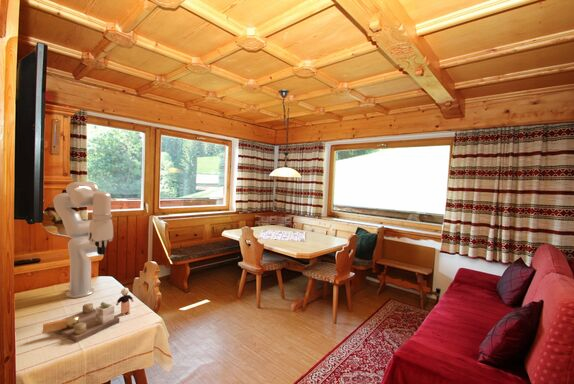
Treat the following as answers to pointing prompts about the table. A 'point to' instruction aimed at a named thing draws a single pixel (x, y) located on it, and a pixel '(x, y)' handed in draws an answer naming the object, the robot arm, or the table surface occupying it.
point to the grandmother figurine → (125, 302)
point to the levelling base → (90, 322)
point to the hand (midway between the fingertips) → (101, 254)
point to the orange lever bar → (61, 324)
